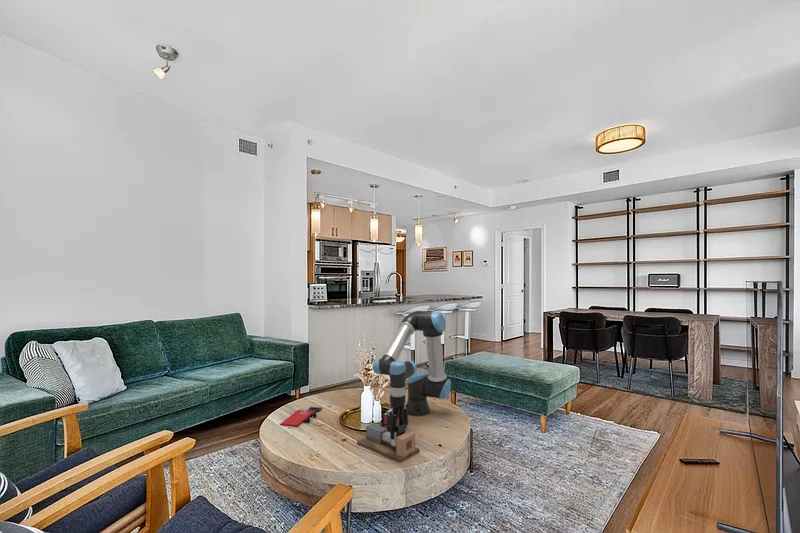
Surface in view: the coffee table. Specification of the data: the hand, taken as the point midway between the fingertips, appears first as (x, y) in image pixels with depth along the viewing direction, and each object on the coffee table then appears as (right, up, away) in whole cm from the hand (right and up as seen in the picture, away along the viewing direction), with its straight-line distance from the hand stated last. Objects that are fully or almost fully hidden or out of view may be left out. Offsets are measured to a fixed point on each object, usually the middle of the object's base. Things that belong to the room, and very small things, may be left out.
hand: (397, 443), depth 184 cm
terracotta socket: (+4, -3, -3) cm, 6 cm away
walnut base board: (-5, -4, +4) cm, 8 cm away
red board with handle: (-57, -6, +46) cm, 73 cm away
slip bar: (-3, -1, +2) cm, 4 cm away
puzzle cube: (-2, -5, +25) cm, 25 cm away
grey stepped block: (-11, -3, +9) cm, 15 cm away
